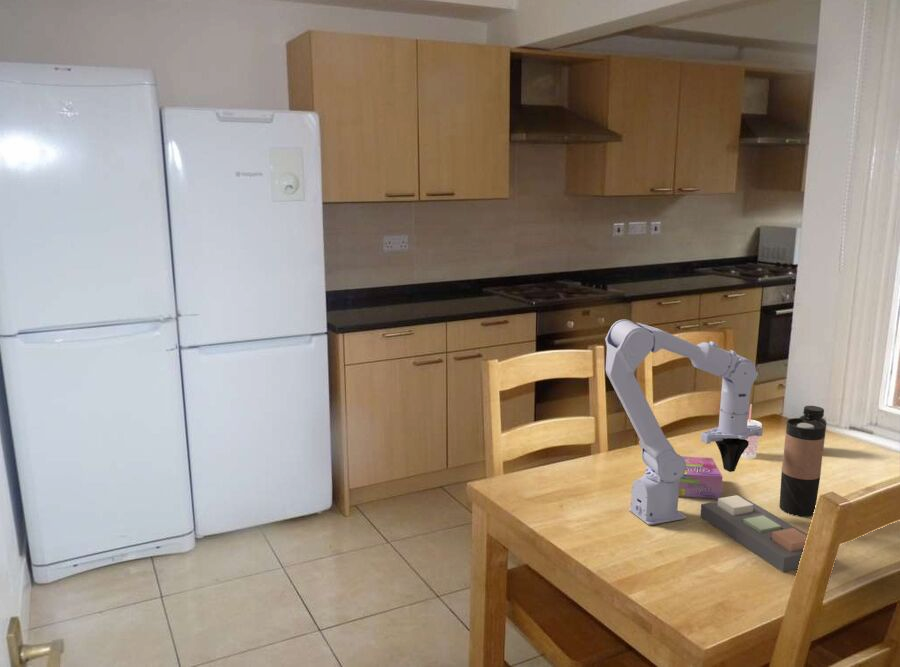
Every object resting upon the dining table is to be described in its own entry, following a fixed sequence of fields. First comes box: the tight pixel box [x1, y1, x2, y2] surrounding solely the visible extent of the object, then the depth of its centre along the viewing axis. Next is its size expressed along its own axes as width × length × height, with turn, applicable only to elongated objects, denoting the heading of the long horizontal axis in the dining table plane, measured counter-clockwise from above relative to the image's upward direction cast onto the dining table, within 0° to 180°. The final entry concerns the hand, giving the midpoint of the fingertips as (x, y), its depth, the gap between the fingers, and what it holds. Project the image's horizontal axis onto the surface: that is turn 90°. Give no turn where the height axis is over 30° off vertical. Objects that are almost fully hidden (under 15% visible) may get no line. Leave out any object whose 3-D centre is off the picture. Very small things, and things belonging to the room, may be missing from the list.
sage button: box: [743, 516, 781, 533], centre depth 149 cm, size 5×5×2 cm
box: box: [678, 455, 723, 500], centre depth 173 cm, size 10×6×12 cm
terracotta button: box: [772, 528, 807, 552], centre depth 141 cm, size 5×5×2 cm
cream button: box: [717, 494, 753, 516], centre depth 156 cm, size 5×5×2 cm
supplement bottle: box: [799, 405, 828, 449], centre depth 196 cm, size 7×7×12 cm
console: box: [700, 496, 807, 573], centre depth 149 cm, size 11×24×3 cm, turn 19°
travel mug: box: [779, 417, 826, 517], centre depth 160 cm, size 8×8×20 cm
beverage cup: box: [740, 403, 763, 459], centre depth 192 cm, size 6×6×14 cm
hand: (729, 470), depth 160 cm, fingers closed
